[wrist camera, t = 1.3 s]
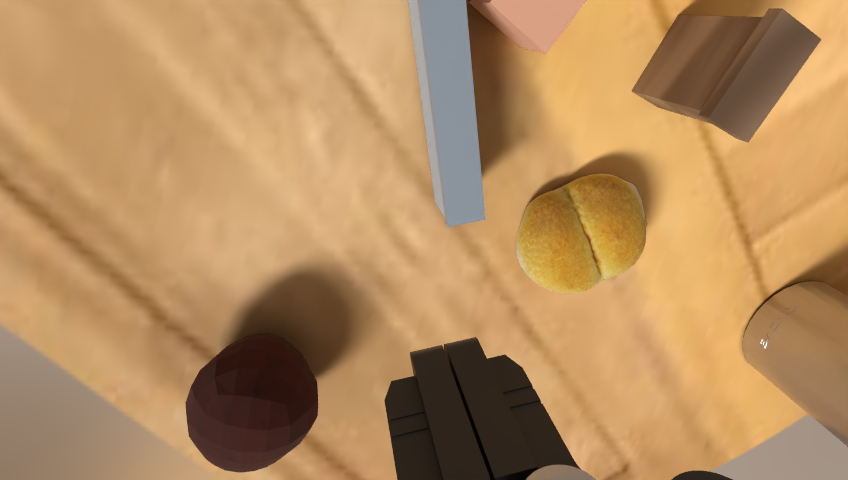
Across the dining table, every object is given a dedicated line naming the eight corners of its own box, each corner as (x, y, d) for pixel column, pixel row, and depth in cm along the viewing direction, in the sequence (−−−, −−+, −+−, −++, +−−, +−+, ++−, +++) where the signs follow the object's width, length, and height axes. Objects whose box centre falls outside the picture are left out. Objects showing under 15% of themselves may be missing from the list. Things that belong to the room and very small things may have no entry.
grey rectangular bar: (398, -50, 27) (412, -60, 23) (439, -56, 27) (459, -66, 23) (432, 200, 33) (448, 226, 29) (465, 194, 33) (485, 219, 29)
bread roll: (496, 209, 35) (516, 233, 31) (616, 152, 34) (650, 170, 31) (531, 301, 38) (553, 332, 35) (640, 250, 38) (673, 275, 35)
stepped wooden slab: (711, 31, 32) (821, 39, 25) (659, 113, 34) (748, 142, 27) (678, 7, 31) (782, 8, 24) (625, 93, 33) (708, 117, 26)
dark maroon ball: (193, 410, 37) (164, 504, 30) (208, 300, 33) (179, 377, 26) (306, 419, 39) (304, 509, 32) (331, 316, 35) (334, 392, 29)
